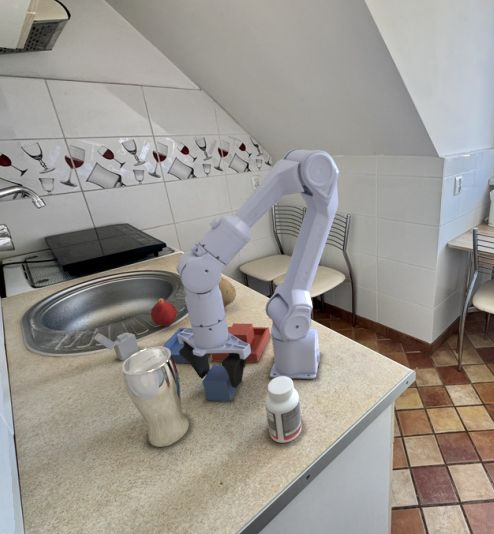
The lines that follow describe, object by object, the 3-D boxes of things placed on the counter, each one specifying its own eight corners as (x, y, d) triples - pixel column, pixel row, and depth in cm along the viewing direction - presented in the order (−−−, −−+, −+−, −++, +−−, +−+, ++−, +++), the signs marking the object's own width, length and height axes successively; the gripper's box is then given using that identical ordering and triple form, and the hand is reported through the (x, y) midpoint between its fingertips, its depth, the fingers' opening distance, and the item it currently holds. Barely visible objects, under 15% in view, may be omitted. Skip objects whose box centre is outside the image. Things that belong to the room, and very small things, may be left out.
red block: (254, 339, 77) (252, 323, 75) (248, 351, 73) (246, 335, 71) (236, 339, 77) (233, 323, 76) (229, 351, 73) (225, 334, 71)
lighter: (135, 348, 76) (125, 319, 72) (139, 350, 75) (130, 320, 72) (103, 366, 70) (91, 335, 67) (108, 368, 69) (96, 338, 66)
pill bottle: (303, 416, 57) (299, 372, 53) (300, 443, 52) (295, 397, 48) (272, 417, 57) (266, 373, 53) (266, 444, 52) (259, 398, 48)
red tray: (269, 334, 80) (268, 327, 79) (257, 362, 70) (256, 353, 69) (229, 334, 80) (228, 326, 79) (212, 360, 71) (210, 352, 70)
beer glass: (143, 456, 50) (115, 381, 44) (148, 422, 56) (124, 352, 50) (191, 440, 53) (171, 367, 47) (191, 409, 58) (173, 341, 53)
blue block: (239, 383, 64) (235, 365, 63) (230, 401, 60) (226, 382, 58) (216, 382, 65) (212, 364, 63) (206, 400, 60) (202, 381, 59)
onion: (169, 333, 81) (161, 305, 78) (149, 331, 82) (141, 303, 79) (184, 321, 86) (177, 294, 83) (165, 319, 87) (158, 293, 84)
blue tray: (221, 336, 79) (219, 328, 79) (202, 363, 70) (200, 355, 69) (181, 335, 80) (179, 327, 79) (157, 362, 71) (155, 354, 70)
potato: (233, 298, 97) (228, 268, 93) (242, 311, 90) (237, 279, 86) (202, 307, 93) (195, 275, 89) (208, 321, 86) (201, 287, 82)
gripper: (157, 322, 55) (174, 384, 60) (227, 339, 50) (239, 404, 55) (188, 303, 61) (201, 361, 66) (253, 316, 56) (262, 377, 61)
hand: (220, 379), depth 61 cm, fingers open, 7 cm apart
